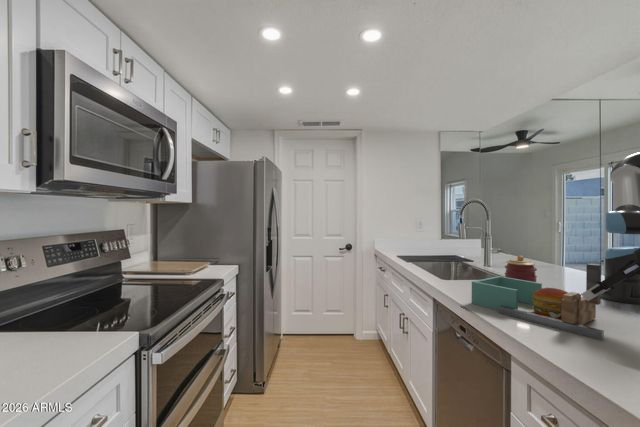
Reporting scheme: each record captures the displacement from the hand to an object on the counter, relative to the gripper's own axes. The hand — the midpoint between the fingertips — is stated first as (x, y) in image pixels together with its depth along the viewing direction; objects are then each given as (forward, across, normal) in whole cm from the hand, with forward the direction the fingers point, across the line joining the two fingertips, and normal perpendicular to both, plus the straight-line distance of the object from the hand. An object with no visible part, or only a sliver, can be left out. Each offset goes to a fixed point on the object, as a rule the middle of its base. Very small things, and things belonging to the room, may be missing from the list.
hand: (586, 296), depth 105 cm
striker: (+6, -4, -7) cm, 9 cm away
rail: (+12, -14, -1) cm, 18 cm away
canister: (+29, +26, +16) cm, 42 cm away
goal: (+25, 0, +12) cm, 28 cm away
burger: (+13, 0, 0) cm, 13 cm away
